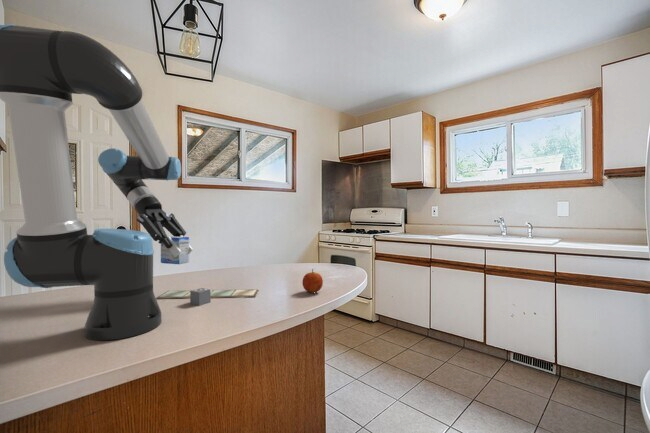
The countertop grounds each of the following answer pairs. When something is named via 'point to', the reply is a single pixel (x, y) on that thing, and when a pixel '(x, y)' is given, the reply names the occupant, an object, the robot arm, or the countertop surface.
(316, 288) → the fruit
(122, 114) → the robot arm
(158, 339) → the countertop surface
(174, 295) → the board
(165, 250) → the medicine box
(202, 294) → the grey toy brick
